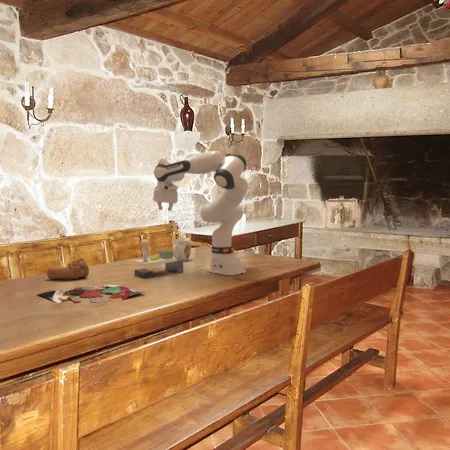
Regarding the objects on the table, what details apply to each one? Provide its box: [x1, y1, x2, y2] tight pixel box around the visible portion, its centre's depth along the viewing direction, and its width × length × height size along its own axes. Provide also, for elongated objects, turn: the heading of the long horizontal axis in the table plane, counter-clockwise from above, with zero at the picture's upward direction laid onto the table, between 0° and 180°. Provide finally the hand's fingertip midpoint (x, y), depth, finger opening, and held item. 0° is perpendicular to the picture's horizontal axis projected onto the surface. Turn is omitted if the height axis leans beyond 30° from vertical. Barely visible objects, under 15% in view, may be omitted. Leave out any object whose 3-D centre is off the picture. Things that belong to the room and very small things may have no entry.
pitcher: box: [171, 237, 192, 262], centre depth 300 cm, size 11×18×14 cm, turn 148°
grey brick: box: [134, 259, 184, 279], centre depth 260 cm, size 12×25×7 cm, turn 132°
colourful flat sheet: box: [36, 283, 145, 307], centre depth 214 cm, size 35×35×2 cm
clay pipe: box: [46, 257, 90, 281], centre depth 246 cm, size 19×11×15 cm
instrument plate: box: [133, 239, 177, 267], centre depth 258 cm, size 20×12×14 cm, turn 132°
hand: (165, 210), depth 275 cm, fingers open, 8 cm apart
